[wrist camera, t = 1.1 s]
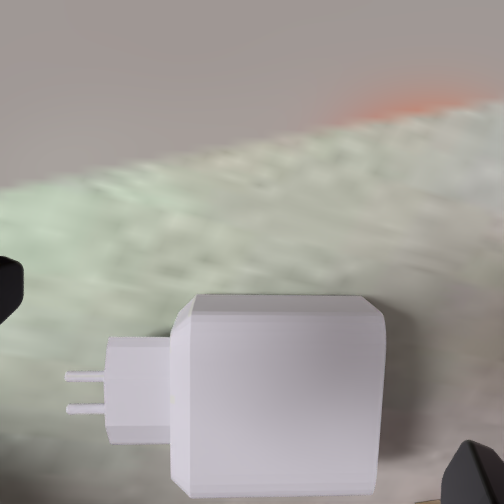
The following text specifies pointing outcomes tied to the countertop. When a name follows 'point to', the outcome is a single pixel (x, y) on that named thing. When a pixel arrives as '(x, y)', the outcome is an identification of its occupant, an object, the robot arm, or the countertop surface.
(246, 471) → the charger
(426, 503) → the guarded bay
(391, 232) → the countertop surface
